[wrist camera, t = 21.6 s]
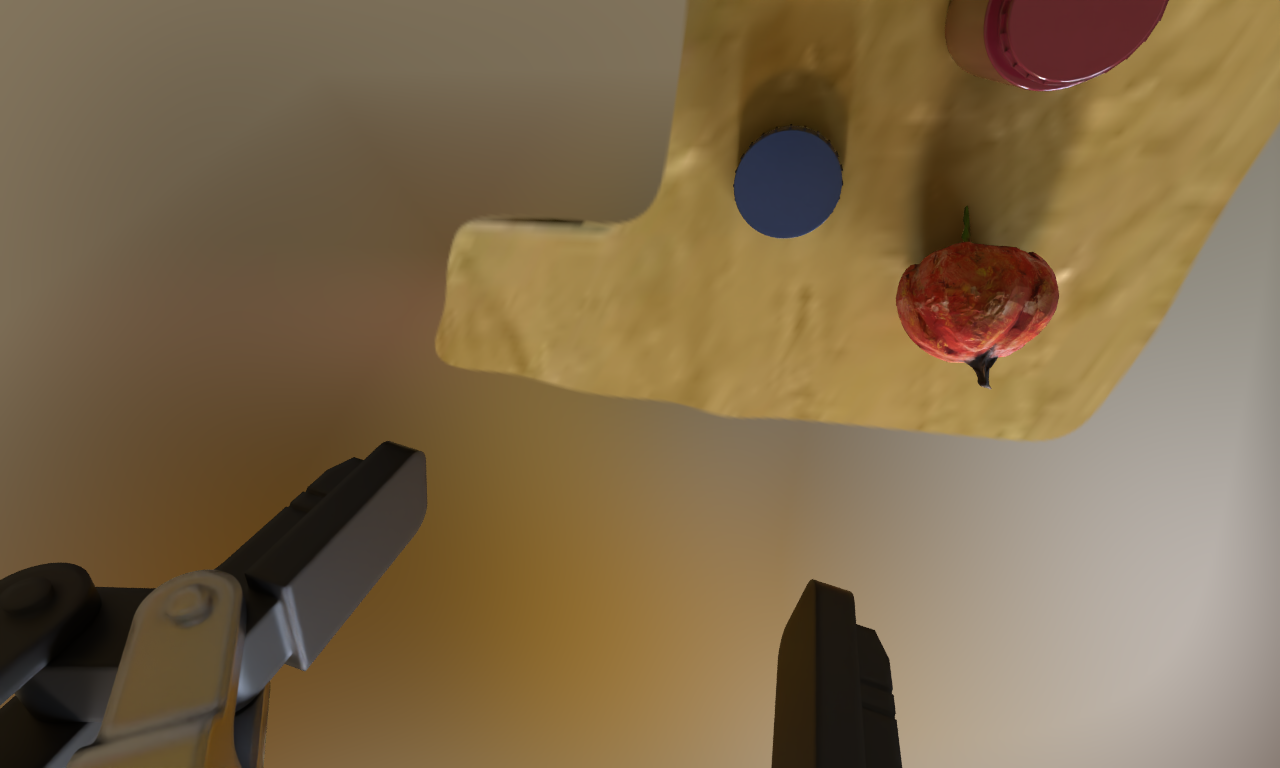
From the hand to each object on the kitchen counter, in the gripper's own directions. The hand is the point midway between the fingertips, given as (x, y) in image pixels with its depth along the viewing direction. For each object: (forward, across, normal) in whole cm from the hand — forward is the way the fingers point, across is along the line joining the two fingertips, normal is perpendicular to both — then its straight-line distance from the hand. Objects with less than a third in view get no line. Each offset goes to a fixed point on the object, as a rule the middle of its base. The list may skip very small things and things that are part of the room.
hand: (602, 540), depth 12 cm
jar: (+28, -10, -12) cm, 32 cm away
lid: (+26, -2, -2) cm, 27 cm away
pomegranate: (+28, -13, +1) cm, 31 cm away
